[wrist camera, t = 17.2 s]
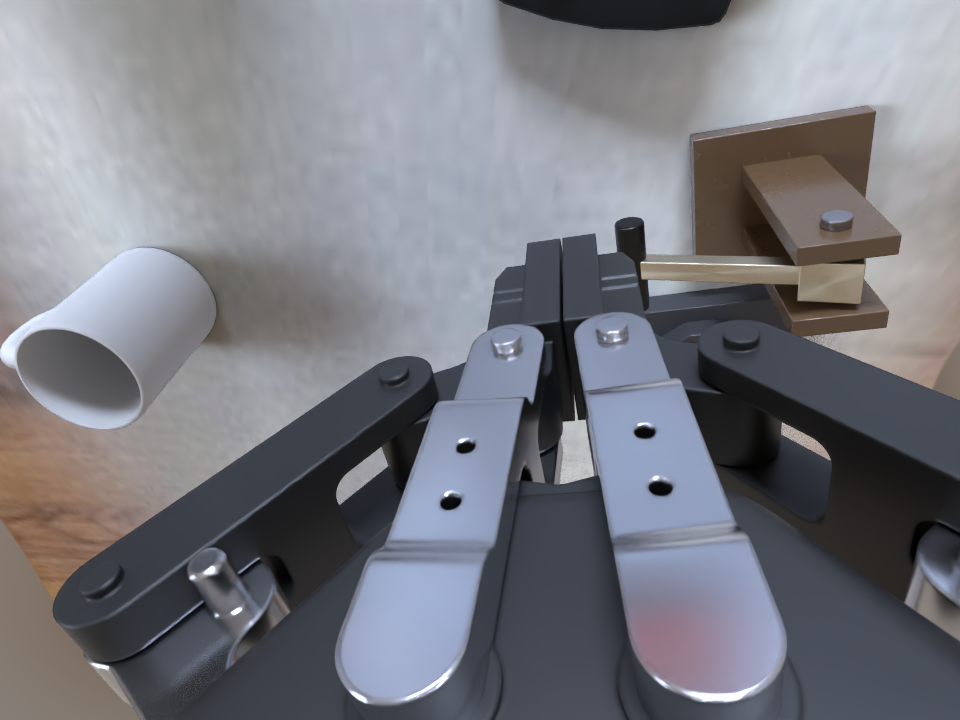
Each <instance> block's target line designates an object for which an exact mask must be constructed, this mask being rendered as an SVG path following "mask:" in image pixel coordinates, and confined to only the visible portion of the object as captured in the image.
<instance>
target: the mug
mask: <svg viewBox="0 0 960 720" xmlns="http://www.w3.org/2000/svg"><path fill="white" fill-rule="evenodd" d="M216 311H217V310H216V302H215V298H214V295H213V293H212V291H211V289H210V287H209V285H208V283H207V282H206V280H205V279H204V278H203V276H202V275H201V274H200V273H199V272H198V271H197V270H196V269H195V268H194V267H193V266H191V265H190V264H189V263H188V262H186V261H185V260H183V259H182V258H180V257H178V256H176V255H174V254H172V253H169V252H167V251H163V250H160V249H155V248H135V249H131V250H128V251H125V252H123V253H121V254H119V255H118V256H116V257H115V258H114V259H113V260H111V261H110V262H109V263H108V264H107V265H106V266H104V267H103V268H102V269H101V270H100V271H99V272H98V273H96V274H95V275H94V276H93V277H92V278H91V279H89V280H88V281H87V282H86V283H84V284H83V285H82V286H81V287H80V288H78V289H77V290H76V291H75V292H73V293H72V294H71V295H70V296H69V297H67V298H66V299H65V300H64V301H62V302H61V303H60V304H59V305H57V306H56V307H55V308H54V309H53V310H50V311H47V312H44V313H42V314H40V315H38V316H36V317H34V318H33V319H31V320H29V321H28V322H26V323H25V324H24V325H22V326H21V327H19V328H18V329H17V330H16V331H15V332H13V333H12V334H11V335H10V336H9V337H8V338H7V340H6V341H5V342H4V344H3V345H2V347H1V349H0V357H1V360H2V361H3V363H4V364H5V365H6V366H8V367H10V368H13V369H16V370H17V373H18V375H19V377H20V379H21V381H22V383H23V384H24V386H25V387H26V389H27V390H28V391H29V393H30V394H31V395H32V396H33V397H34V398H35V399H36V400H37V401H38V402H39V403H40V404H41V405H43V406H44V407H45V408H46V409H48V410H49V411H51V412H52V413H54V414H55V415H57V416H59V417H60V418H62V419H64V420H66V421H68V422H71V423H73V424H76V425H79V426H82V427H86V428H90V429H96V430H115V429H120V428H124V427H126V426H128V425H130V424H132V423H133V422H135V421H136V420H137V419H138V418H140V417H141V416H142V415H143V413H144V412H145V411H146V410H147V409H148V407H149V406H150V405H151V404H152V402H153V401H154V400H155V399H156V397H157V396H158V395H159V394H160V392H161V391H162V390H163V389H164V387H165V386H166V385H167V384H168V382H169V381H170V380H171V379H172V378H173V376H174V375H175V374H176V373H177V371H178V370H179V369H180V368H181V366H182V365H183V364H184V363H185V361H186V360H187V359H188V358H189V356H190V355H191V354H192V353H193V352H194V350H195V349H196V348H197V347H198V346H199V345H200V344H201V342H202V341H203V340H204V339H205V338H206V337H207V335H208V334H209V332H210V331H211V329H212V327H213V325H214V323H215V319H216Z"/></svg>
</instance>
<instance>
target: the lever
mask: <svg viewBox="0 0 960 720" xmlns="http://www.w3.org/2000/svg"><path fill="white" fill-rule="evenodd" d="M615 234H616V245H617V252H623V253H624V254H625V255H627V256H628V257H629V258H631V259H632V260H633V261H634V263H635V268H636V273H637V278H638V282H639V287H640V292H641V297H642V302H643V307H644V311H646V310H647V309H648V308H649V291H648V280H672V281H701V282H730V283H759V284H787V285H798V295H797V301H805V302H827V303H849V304H860V303H861V296H862V289H863V282H864V274H865V267H866V258H863V259H855V260H847V261H839V262H831V263H823V264H815V265H807V266H799V267H797V266H796V265H795V263H794V261H793V260H792V258H791V257H762V256H706V255H649V254H646V246H645V231H644V221H643V220H642V219H641V218H637V217H628V218H623V219H621V220H619V221H617V222H616V223H615Z"/></svg>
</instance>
